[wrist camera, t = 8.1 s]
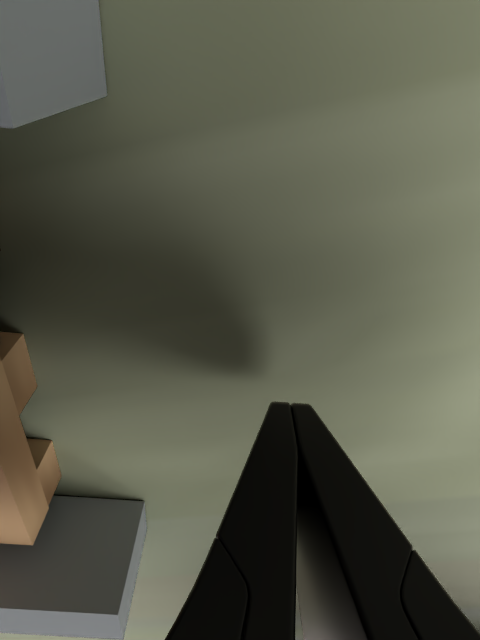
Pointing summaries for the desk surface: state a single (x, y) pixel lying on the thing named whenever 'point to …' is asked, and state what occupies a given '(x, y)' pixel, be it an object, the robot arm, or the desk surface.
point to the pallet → (21, 450)
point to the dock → (64, 512)
